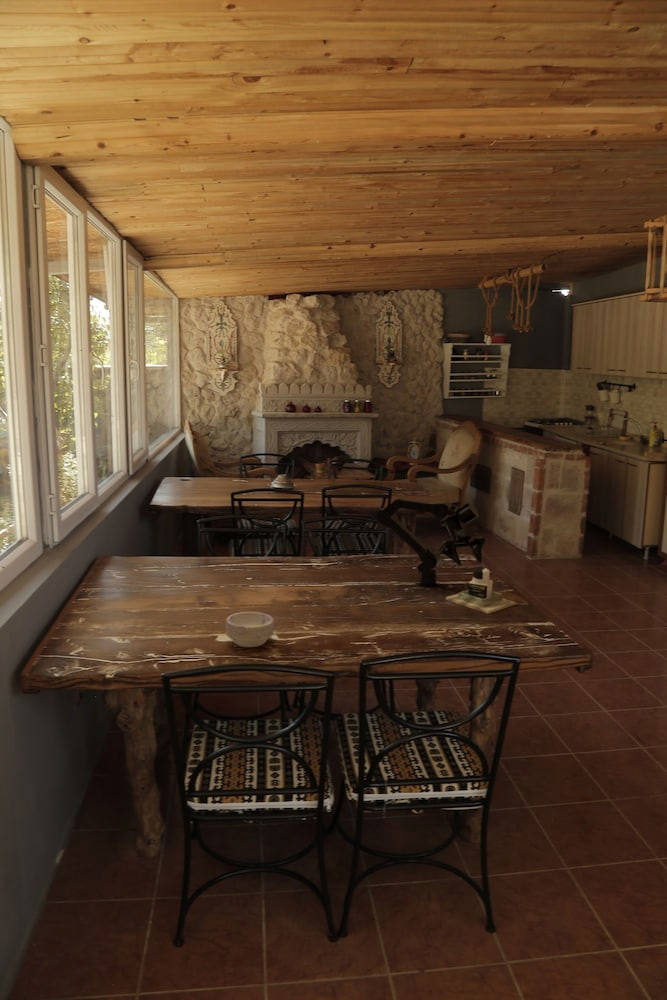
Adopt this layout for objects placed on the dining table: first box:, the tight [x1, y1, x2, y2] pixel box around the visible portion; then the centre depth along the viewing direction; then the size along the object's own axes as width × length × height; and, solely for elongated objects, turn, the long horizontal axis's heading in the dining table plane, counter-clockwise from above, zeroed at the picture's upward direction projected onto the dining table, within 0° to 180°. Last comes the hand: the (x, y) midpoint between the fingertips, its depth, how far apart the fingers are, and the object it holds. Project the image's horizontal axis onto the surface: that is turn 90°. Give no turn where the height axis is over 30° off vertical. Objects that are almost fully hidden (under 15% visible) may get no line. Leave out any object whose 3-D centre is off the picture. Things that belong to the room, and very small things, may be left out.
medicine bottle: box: [468, 567, 493, 599], centre depth 285 cm, size 7×7×12 cm
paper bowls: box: [225, 611, 275, 648], centre depth 243 cm, size 15×15×8 cm
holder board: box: [445, 589, 516, 614], centre depth 286 cm, size 20×16×4 cm
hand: (470, 564), depth 289 cm, fingers open, 9 cm apart
